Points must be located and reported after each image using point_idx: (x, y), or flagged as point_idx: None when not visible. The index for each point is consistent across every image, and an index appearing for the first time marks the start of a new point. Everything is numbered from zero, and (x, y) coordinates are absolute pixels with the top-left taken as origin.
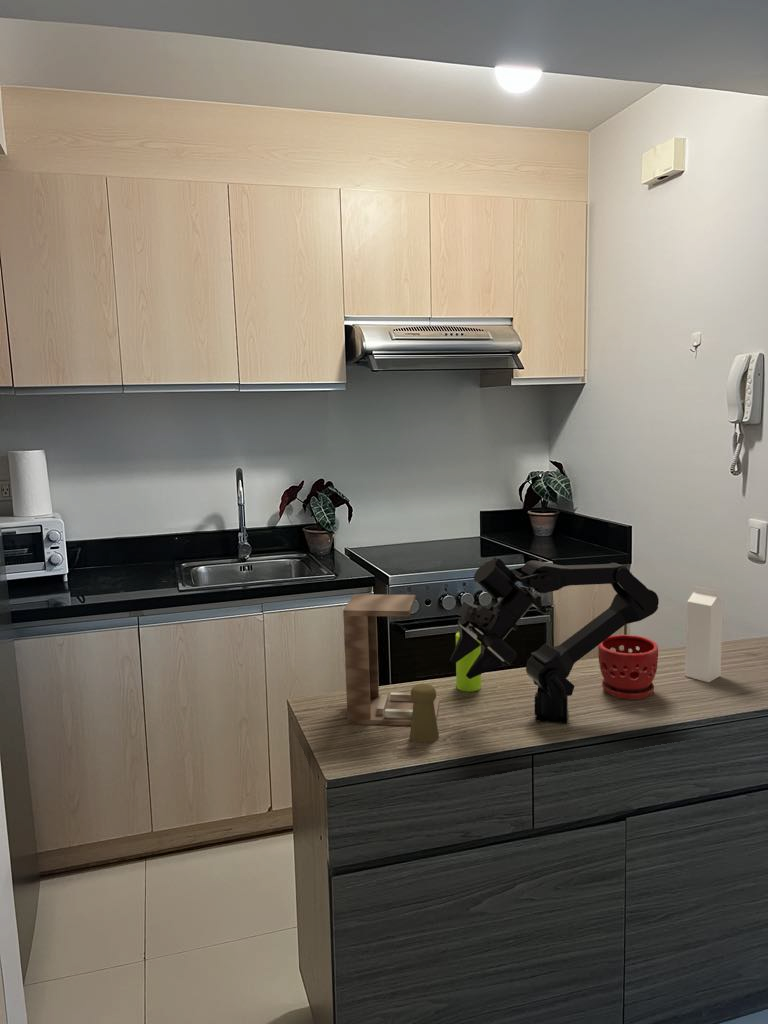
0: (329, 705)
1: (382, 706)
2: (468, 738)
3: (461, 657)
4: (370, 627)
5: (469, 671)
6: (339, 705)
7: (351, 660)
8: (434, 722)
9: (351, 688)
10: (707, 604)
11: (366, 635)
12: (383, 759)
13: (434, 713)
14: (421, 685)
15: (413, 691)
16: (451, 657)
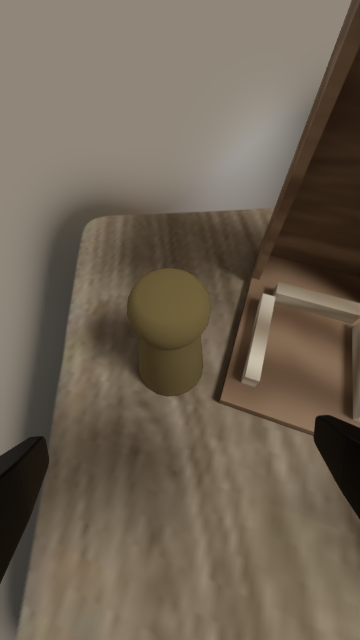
0: None
1: (289, 293)
2: (129, 469)
3: (358, 508)
4: None
5: (7, 455)
6: None
7: (307, 123)
8: (147, 367)
9: (278, 200)
10: None
11: (353, 19)
12: (106, 279)
13: (152, 360)
14: (174, 287)
15: (159, 269)
16: (340, 422)
